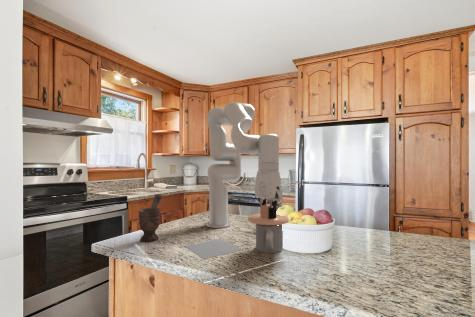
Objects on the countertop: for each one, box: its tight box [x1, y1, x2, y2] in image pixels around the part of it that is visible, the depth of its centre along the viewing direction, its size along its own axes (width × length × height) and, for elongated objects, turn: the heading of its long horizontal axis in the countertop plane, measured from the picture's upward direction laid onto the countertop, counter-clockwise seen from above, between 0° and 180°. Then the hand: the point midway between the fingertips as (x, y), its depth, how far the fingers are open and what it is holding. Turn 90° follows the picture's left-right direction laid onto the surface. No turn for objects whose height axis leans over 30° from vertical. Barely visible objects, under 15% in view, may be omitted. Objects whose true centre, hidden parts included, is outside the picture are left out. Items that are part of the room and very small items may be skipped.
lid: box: [247, 204, 290, 225], centre depth 96 cm, size 15×15×6 cm
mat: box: [184, 238, 243, 260], centre depth 98 cm, size 16×16×1 cm
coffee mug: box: [255, 224, 284, 254], centre depth 96 cm, size 13×10×10 cm
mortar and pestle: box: [138, 193, 163, 244], centre depth 107 cm, size 12×9×20 cm
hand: (268, 216), depth 96 cm, fingers closed on lid, 3 cm apart
